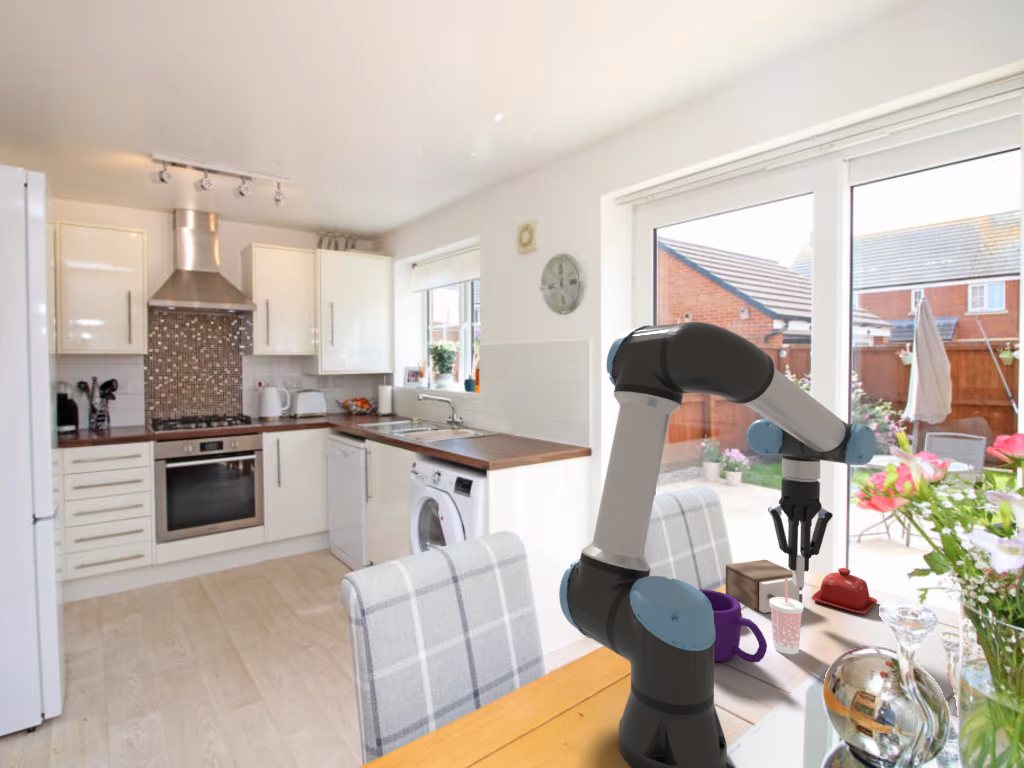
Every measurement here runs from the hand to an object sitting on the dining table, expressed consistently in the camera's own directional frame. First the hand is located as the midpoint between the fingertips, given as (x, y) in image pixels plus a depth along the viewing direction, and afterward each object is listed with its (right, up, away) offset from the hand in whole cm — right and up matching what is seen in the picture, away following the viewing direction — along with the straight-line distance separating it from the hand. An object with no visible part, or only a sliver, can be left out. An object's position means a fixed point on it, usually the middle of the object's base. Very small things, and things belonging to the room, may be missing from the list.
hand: (798, 585), depth 122 cm
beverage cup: (-9, -8, -13) cm, 18 cm away
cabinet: (-4, -7, +10) cm, 13 cm away
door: (-1, -7, +4) cm, 8 cm away
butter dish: (+15, -8, +8) cm, 19 cm away
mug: (-23, -8, -16) cm, 29 cm away
